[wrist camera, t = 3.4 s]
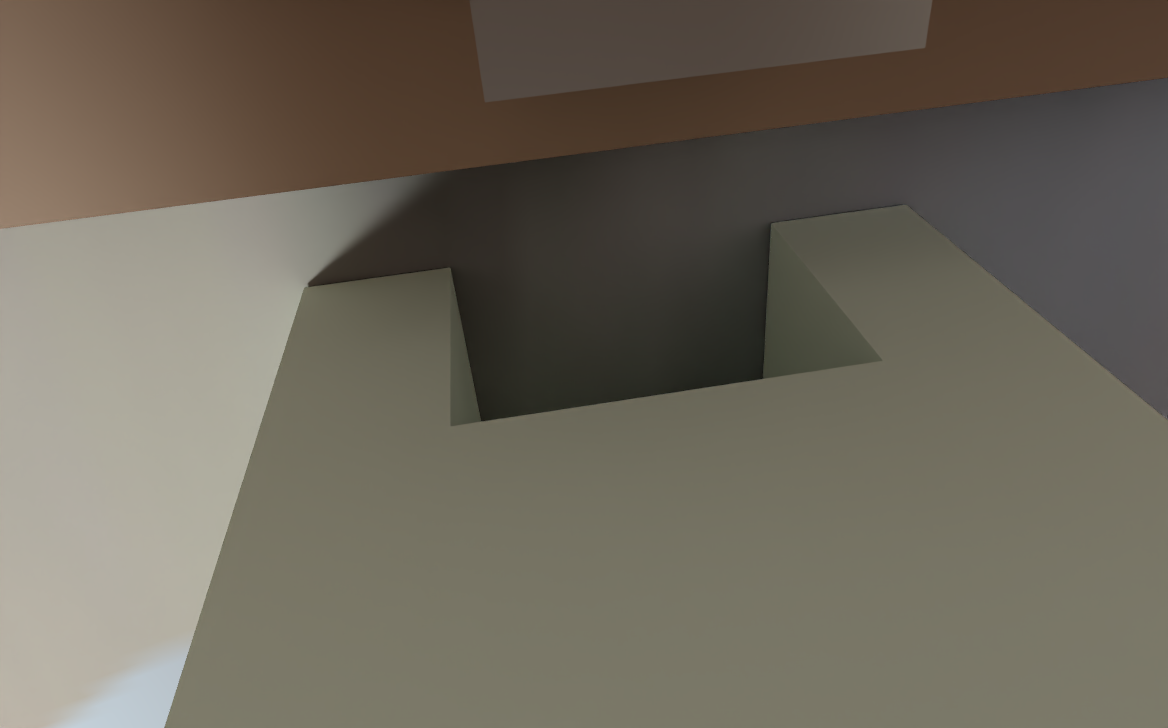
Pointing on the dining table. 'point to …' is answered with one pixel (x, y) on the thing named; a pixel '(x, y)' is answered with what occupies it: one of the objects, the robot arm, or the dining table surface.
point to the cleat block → (702, 522)
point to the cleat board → (488, 82)
